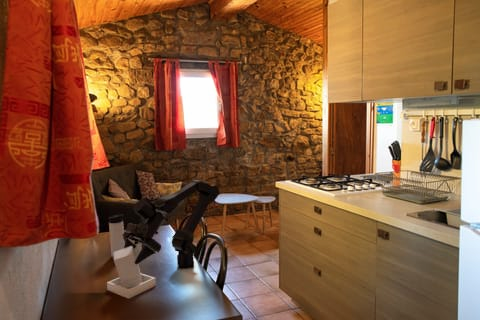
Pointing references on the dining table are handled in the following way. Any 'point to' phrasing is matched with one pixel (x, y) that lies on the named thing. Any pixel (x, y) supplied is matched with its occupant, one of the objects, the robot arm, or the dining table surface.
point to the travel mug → (116, 233)
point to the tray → (129, 292)
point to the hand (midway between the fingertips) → (128, 261)
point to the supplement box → (127, 267)
